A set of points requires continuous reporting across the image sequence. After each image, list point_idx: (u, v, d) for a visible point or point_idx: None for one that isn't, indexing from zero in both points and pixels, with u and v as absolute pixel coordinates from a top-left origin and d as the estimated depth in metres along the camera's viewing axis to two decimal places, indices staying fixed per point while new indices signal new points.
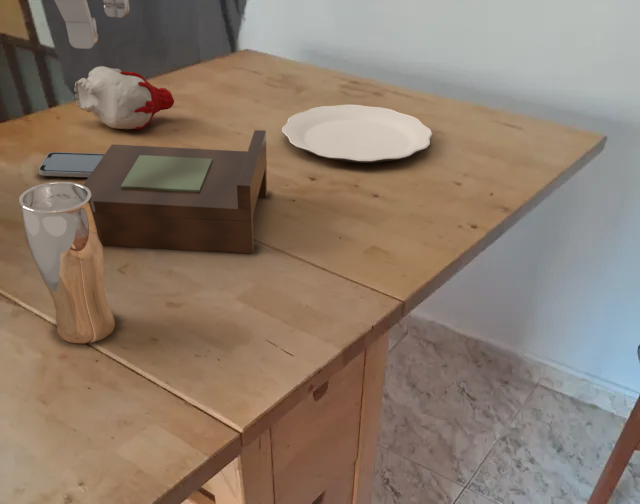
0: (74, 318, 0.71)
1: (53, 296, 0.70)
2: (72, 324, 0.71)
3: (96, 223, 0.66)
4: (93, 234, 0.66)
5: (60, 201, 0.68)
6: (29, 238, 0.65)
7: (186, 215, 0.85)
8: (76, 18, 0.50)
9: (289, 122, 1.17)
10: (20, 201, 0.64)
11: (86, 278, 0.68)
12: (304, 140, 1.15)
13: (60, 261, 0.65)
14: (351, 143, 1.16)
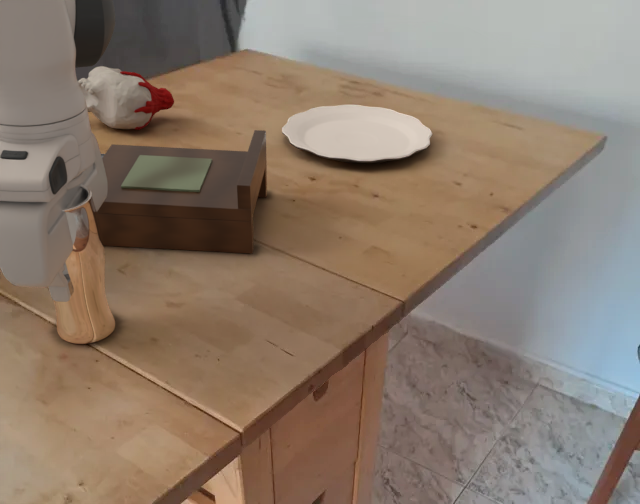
0: (74, 318, 0.71)
1: None
2: (72, 324, 0.71)
3: (96, 223, 0.66)
4: (93, 234, 0.66)
5: None
6: None
7: (186, 215, 0.85)
8: (56, 284, 0.66)
9: (289, 122, 1.17)
10: None
11: (86, 277, 0.68)
12: (304, 140, 1.15)
13: None
14: (351, 143, 1.16)
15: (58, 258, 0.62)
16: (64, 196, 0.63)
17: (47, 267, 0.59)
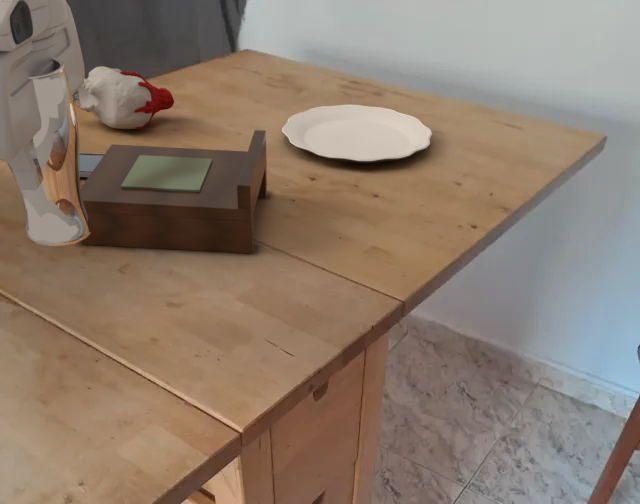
0: (45, 214, 0.63)
1: None
2: (42, 222, 0.64)
3: (69, 100, 0.59)
4: (66, 112, 0.58)
5: None
6: None
7: (186, 215, 0.85)
8: (22, 168, 0.58)
9: (289, 122, 1.17)
10: None
11: (58, 165, 0.60)
12: (304, 140, 1.15)
13: None
14: (351, 143, 1.16)
15: (23, 130, 0.54)
16: (31, 61, 0.55)
17: (9, 133, 0.51)
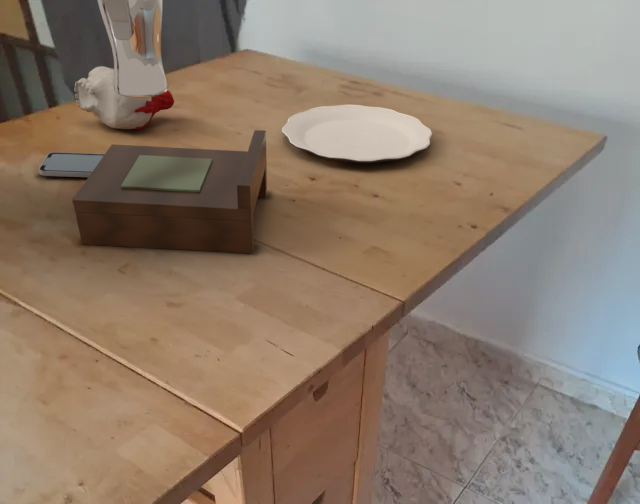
0: (133, 67, 0.75)
1: (114, 43, 0.74)
2: (130, 75, 0.76)
3: None
4: None
5: None
6: None
7: (186, 215, 0.85)
8: (119, 18, 0.70)
9: (289, 122, 1.17)
10: None
11: (147, 20, 0.72)
12: (304, 140, 1.15)
13: None
14: (351, 143, 1.16)
15: None
16: None
17: None
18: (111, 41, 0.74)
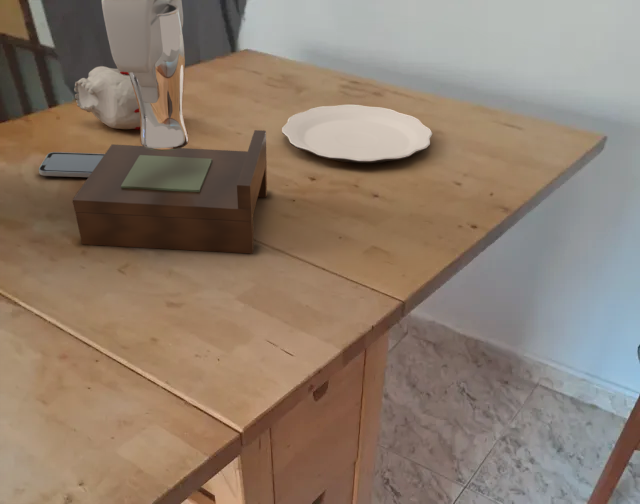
0: (158, 124, 0.84)
1: (141, 103, 0.83)
2: (155, 131, 0.84)
3: (181, 34, 0.79)
4: (179, 43, 0.79)
5: None
6: None
7: (186, 215, 0.85)
8: (147, 84, 0.79)
9: (289, 122, 1.17)
10: None
11: (171, 84, 0.81)
12: (304, 140, 1.15)
13: None
14: (351, 143, 1.16)
15: (154, 52, 0.75)
16: (158, 3, 0.76)
17: (149, 51, 0.72)
18: (139, 102, 0.83)
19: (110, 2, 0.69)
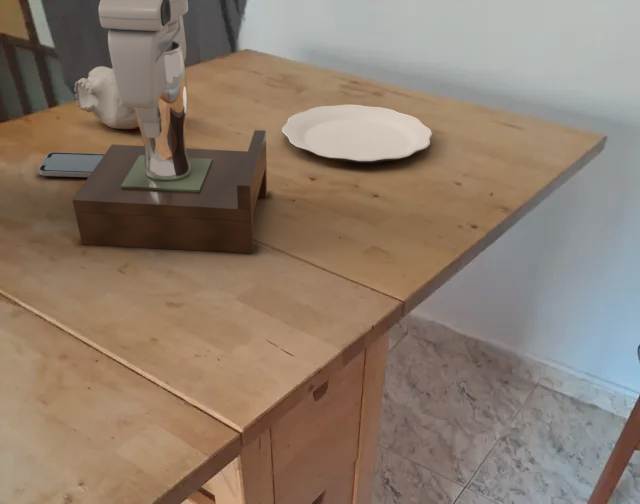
0: (161, 156, 0.86)
1: (145, 136, 0.85)
2: (159, 162, 0.87)
3: (184, 70, 0.82)
4: (182, 78, 0.82)
5: None
6: None
7: (186, 215, 0.85)
8: (150, 120, 0.80)
9: (289, 122, 1.17)
10: None
11: (174, 118, 0.84)
12: (304, 140, 1.15)
13: None
14: (351, 143, 1.16)
15: (159, 87, 0.77)
16: (162, 39, 0.78)
17: (154, 88, 0.74)
18: (143, 134, 0.85)
19: (116, 42, 0.72)
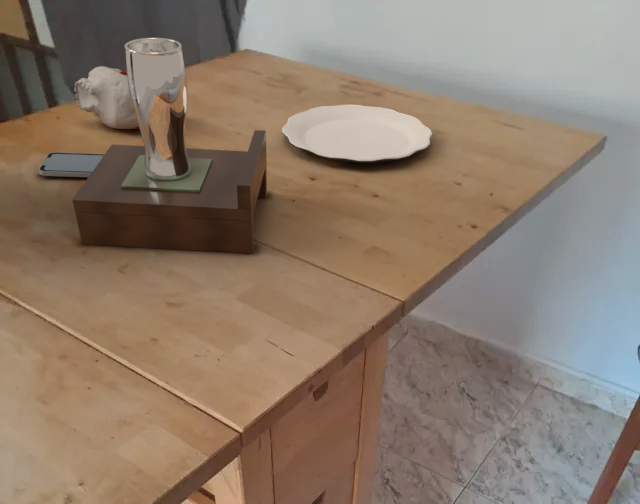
0: (161, 156, 0.86)
1: (145, 136, 0.85)
2: (159, 162, 0.87)
3: (184, 70, 0.82)
4: (182, 78, 0.81)
5: None
6: (131, 80, 0.80)
7: (186, 215, 0.85)
8: None
9: (289, 122, 1.17)
10: (126, 47, 0.79)
11: (174, 118, 0.83)
12: (304, 140, 1.15)
13: (156, 99, 0.81)
14: (351, 143, 1.16)
15: None
16: None
17: None
18: (143, 134, 0.85)
19: None
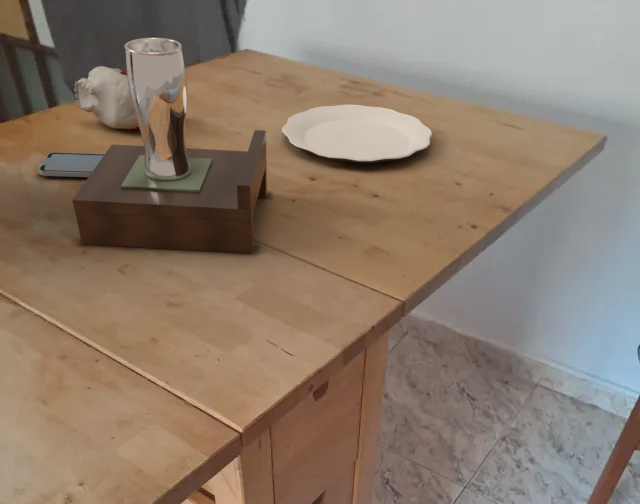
0: (161, 156, 0.86)
1: (145, 136, 0.85)
2: (159, 162, 0.87)
3: (184, 70, 0.82)
4: (182, 78, 0.81)
5: None
6: (131, 80, 0.80)
7: (186, 215, 0.85)
8: None
9: (289, 122, 1.17)
10: (126, 47, 0.79)
11: (174, 118, 0.83)
12: (304, 140, 1.15)
13: (156, 99, 0.81)
14: (351, 143, 1.16)
15: None
16: None
17: None
18: (143, 134, 0.85)
19: None
